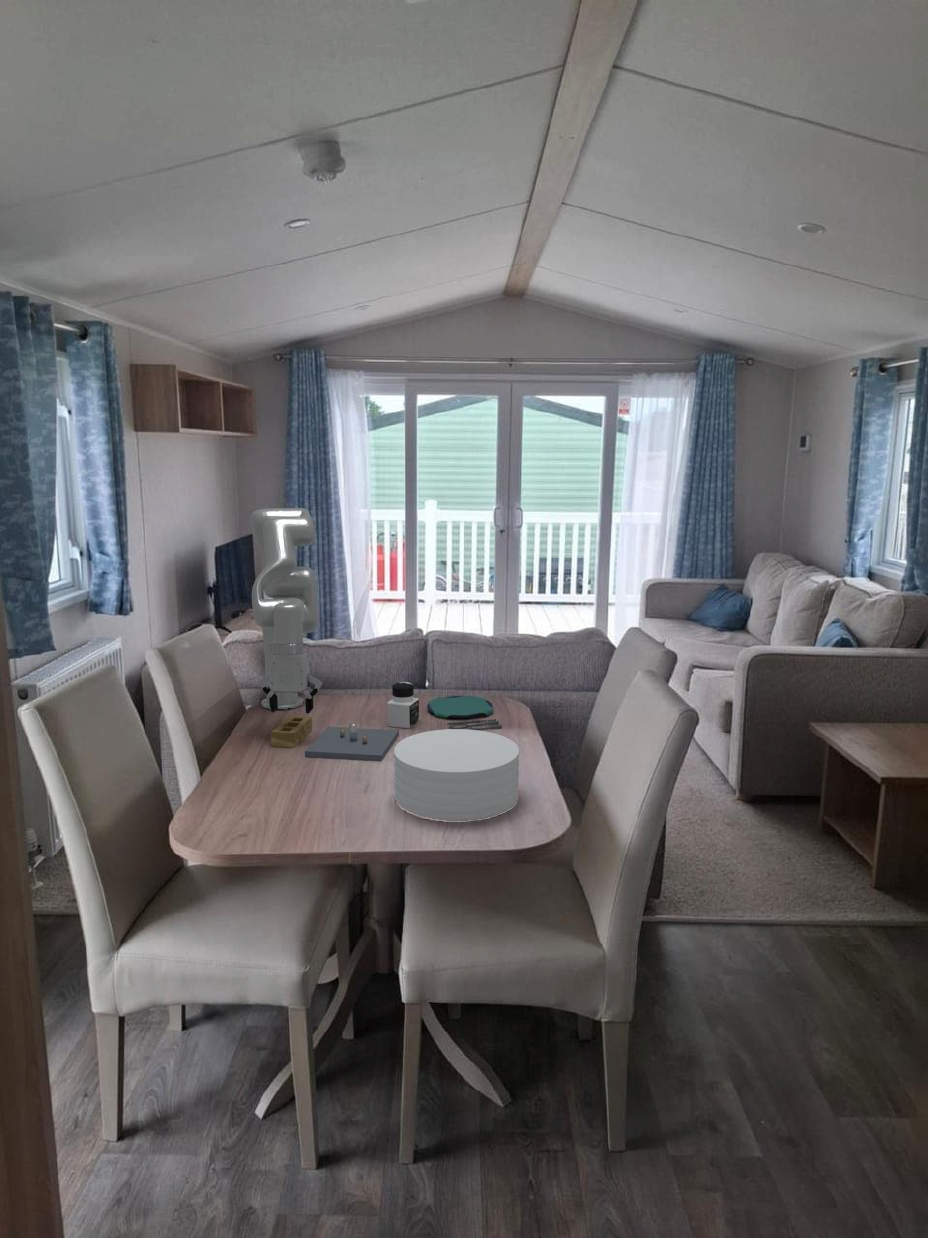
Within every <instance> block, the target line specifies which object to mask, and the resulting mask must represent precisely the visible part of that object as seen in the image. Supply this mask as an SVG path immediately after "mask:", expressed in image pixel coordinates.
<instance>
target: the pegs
mask: <svg viewBox="0 0 928 1238" xmlns="http://www.w3.org/2000/svg"><path fill="white" fill-rule="evenodd" d="M348 725H349V727H348V728H349V729H350V741H352V742H354V741H357V728H358V723H356V722H350V723H349V724H348ZM340 737H341V738H344V737H345V730H344V729H341V730H340ZM362 741H363V744H367V736H362Z"/></svg>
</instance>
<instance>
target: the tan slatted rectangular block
mask: <svg viewBox="0 0 928 1238" xmlns="http://www.w3.org/2000/svg"><path fill="white" fill-rule="evenodd" d="M312 732H313V717H311V716H299V715H298V716H295V715H289V716H288V717H287V718H286V719H284V720H283V721H282V722H280V724H279V725H277V726H276V727H275V728H274V729H273V730H272V731H271V732H270V734H271V735H270V738H271V740H270V741H271V747H274V748H276V747H277V748H289V747H291V748H290V749H293V748H294V749H295V748H296V747H298V746H299V745H300V743H301V742H302V741H304V739H306V738H307V737H308V736H309V735H310V734H311V733H312Z"/></svg>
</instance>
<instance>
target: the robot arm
mask: <svg viewBox="0 0 928 1238" xmlns="http://www.w3.org/2000/svg"><path fill="white" fill-rule="evenodd" d="M250 527H251V531H252V535H253V538H254V539H255V542H256V544H257V547H258V549H259V552H260V553H259V554H260V559H261V572H260V573H259V574H258V576H257V577H256V578H255V580H254V583H253V585H252V589H251V604H252V606H251V607H252V616H253V620H254V623H255V624H256V625H257V626H258V627H261V631H262V639H263V648H264V649H263V651H264V653H263V654H264V669H265V671H264V672H265V677H264V678H261V679H260V680H259V681H258V683H259V685H260V687H261V688H262V689H261V690H262V691H263V692H264V693H265V696H266V697H265V698H264V699H262V700H261V704H260V705H261V707H263V708H265V709H267V708H268V710H270V712H271V713H274V712H276V711H278V710H277V709H284V710H289V709H288V708H291V709H296V708H298V707H300V706H301V707H302V705H303V704H305V713H306V714H310V713H311V712H312V711H313V709H314V697H315V695H317V694H318V693H319V691H320V689H321V687H322V686H323V681H322V680H319V679H318V678H316V677H314V676H312V675H311V672H310V665H309V661H308V660H309V659H308V657H307V653H306V652H304V634H308V633H309V634H311V633H315V632H316V631H317V630H318V628H319V625H320V624H319V623H320V616H319V615H320V612H319V598H318V586H317V577H316V574H315V572H314V570H313V568H311V567H309V566H297V564H298V563H297V556H296V547H308V546H312V545H313V543H314V542H315V537H316V530H315V525H314V521H313V518H312V516H311V514H310V511H309V510H308V509H306V508H303V507H286V508H285V507H270V508H269V507H268V508H266V507H265V508H260V509H257V510H254V511H253V512H252V513H251V515H250ZM263 592H264V595H265V596H266V598H267V599H263ZM311 683H312V684H313V685H314V688H313V689H312V688H311ZM298 693H299V694H300V693H303V694H304V696H305V697H306V698H305V701H304V698H303V697H301V696H299V694H298ZM304 702H305V703H304Z"/></svg>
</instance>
